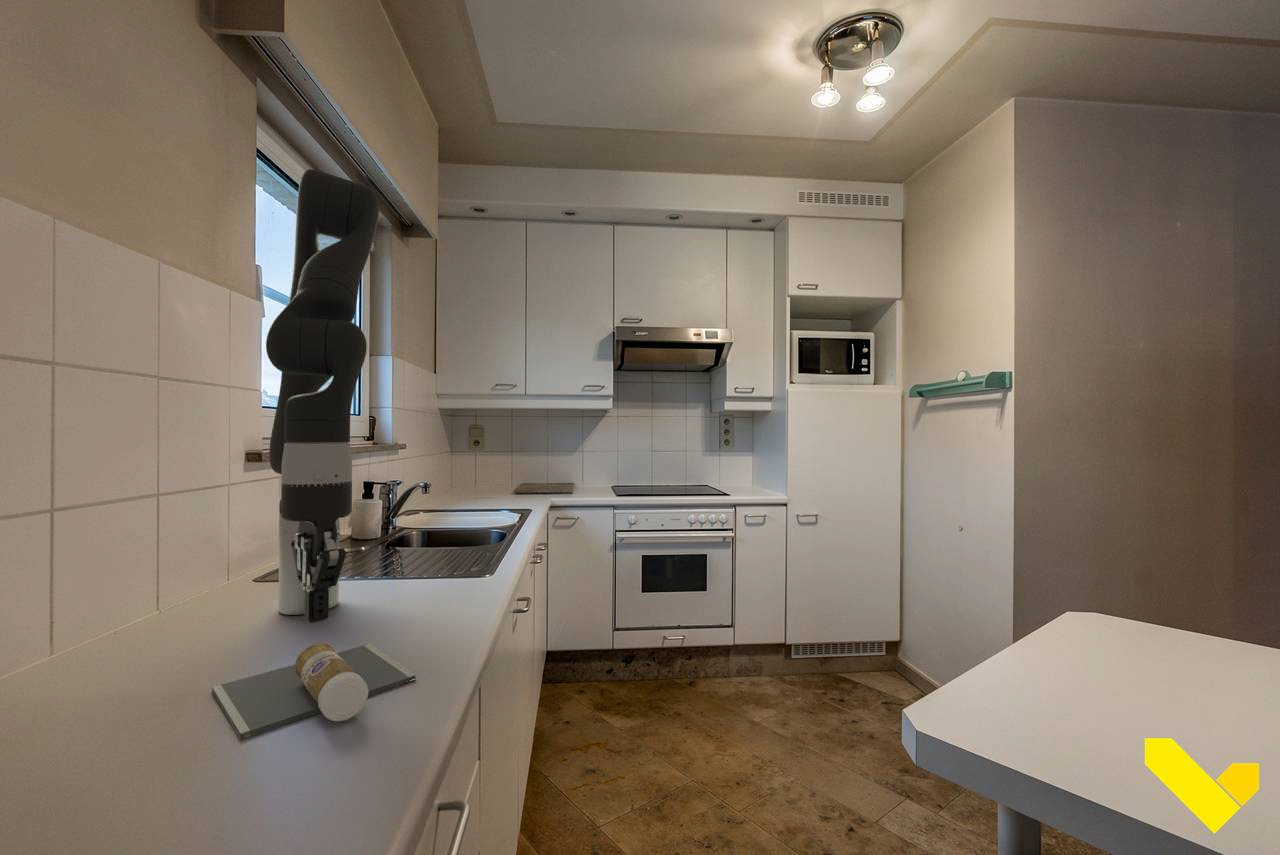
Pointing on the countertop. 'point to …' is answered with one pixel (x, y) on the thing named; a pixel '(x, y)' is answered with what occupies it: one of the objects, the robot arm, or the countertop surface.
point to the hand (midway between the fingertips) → (316, 619)
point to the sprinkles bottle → (331, 682)
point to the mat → (297, 691)
